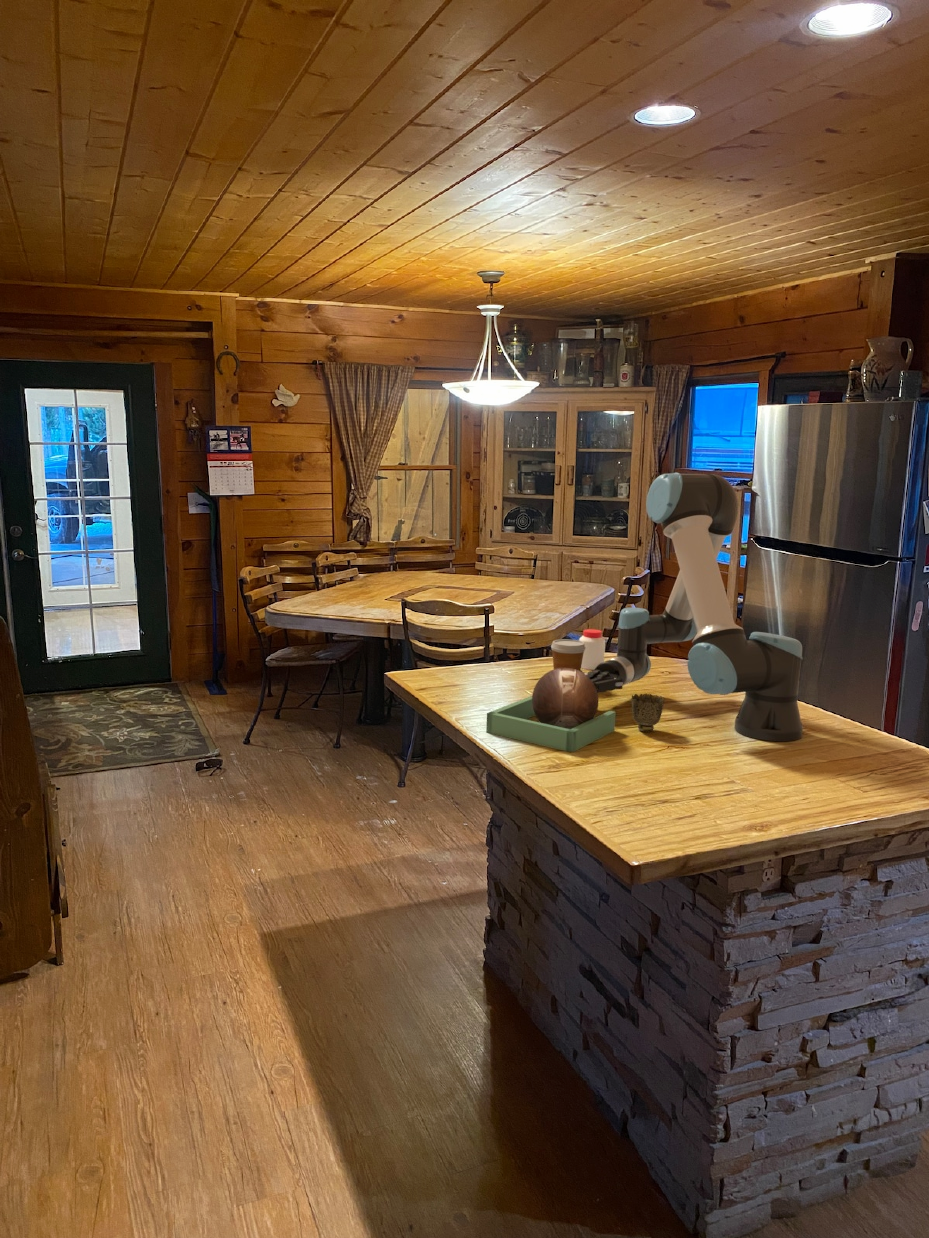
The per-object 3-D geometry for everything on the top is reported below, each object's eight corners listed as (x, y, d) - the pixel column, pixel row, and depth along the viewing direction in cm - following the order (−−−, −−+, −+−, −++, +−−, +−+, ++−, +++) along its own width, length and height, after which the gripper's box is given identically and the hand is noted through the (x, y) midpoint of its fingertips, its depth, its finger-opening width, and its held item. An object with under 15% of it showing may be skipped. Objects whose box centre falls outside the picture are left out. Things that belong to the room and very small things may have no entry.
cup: (661, 736, 209) (664, 702, 207) (629, 733, 210) (631, 700, 209) (661, 727, 216) (664, 694, 214) (629, 724, 217) (632, 691, 216)
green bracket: (532, 712, 225) (533, 695, 224) (614, 730, 212) (615, 711, 211) (486, 732, 208) (486, 713, 207) (572, 752, 196) (573, 732, 195)
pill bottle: (607, 666, 276) (609, 630, 275) (597, 671, 270) (599, 634, 268) (584, 662, 280) (586, 627, 279) (573, 667, 274) (575, 631, 272)
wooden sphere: (542, 744, 201) (545, 677, 198) (522, 723, 215) (525, 661, 212) (606, 741, 204) (610, 675, 202) (582, 721, 219) (586, 660, 216)
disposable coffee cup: (543, 681, 256) (545, 639, 253) (575, 680, 258) (577, 638, 256) (557, 690, 247) (559, 646, 245) (589, 688, 250) (591, 645, 247)
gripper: (635, 692, 232) (590, 712, 213) (590, 683, 239) (543, 702, 220) (637, 663, 230) (592, 681, 212) (592, 655, 238) (544, 671, 219)
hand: (567, 692), depth 216 cm, fingers closed
